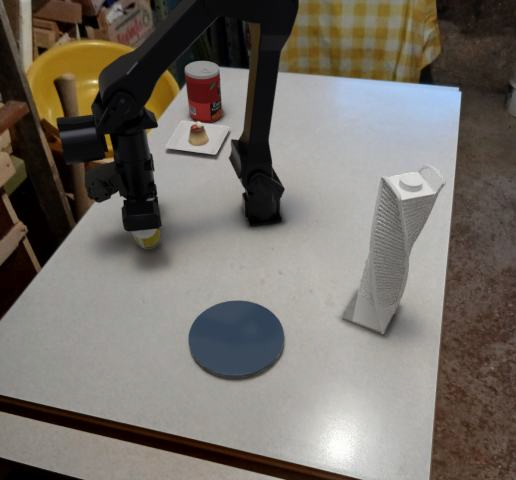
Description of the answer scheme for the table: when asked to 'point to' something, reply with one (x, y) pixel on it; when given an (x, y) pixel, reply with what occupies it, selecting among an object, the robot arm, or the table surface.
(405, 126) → the table surface
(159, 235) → the supplement bottle
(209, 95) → the canned food
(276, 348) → the plate
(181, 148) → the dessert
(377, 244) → the skyscraper
